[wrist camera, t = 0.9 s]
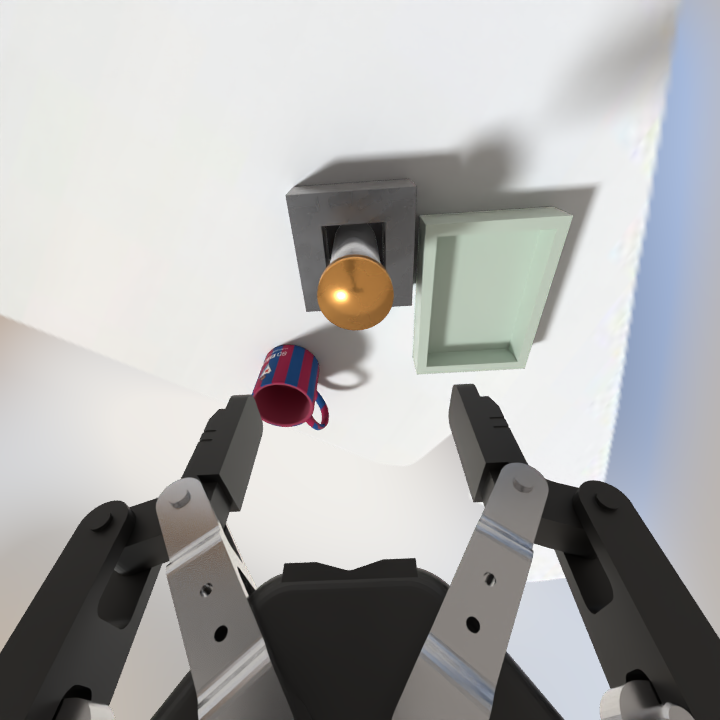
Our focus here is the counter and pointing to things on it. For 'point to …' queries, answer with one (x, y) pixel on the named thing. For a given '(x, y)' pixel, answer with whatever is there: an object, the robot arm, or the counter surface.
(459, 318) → the tray
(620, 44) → the counter surface
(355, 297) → the pin
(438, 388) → the counter surface
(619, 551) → the robot arm
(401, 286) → the block
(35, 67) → the counter surface
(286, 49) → the counter surface
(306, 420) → the mug
